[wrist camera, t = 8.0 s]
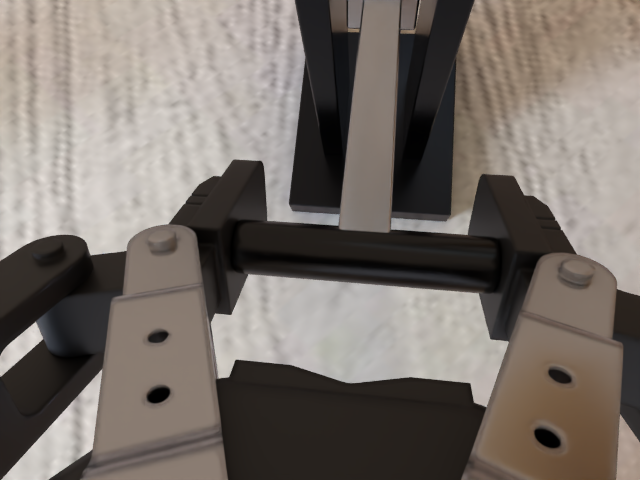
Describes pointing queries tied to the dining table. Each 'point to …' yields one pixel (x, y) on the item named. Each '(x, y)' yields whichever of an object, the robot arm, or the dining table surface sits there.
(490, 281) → the lever with crossbar handle
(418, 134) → the black lever stand
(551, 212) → the robot arm
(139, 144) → the dining table surface
